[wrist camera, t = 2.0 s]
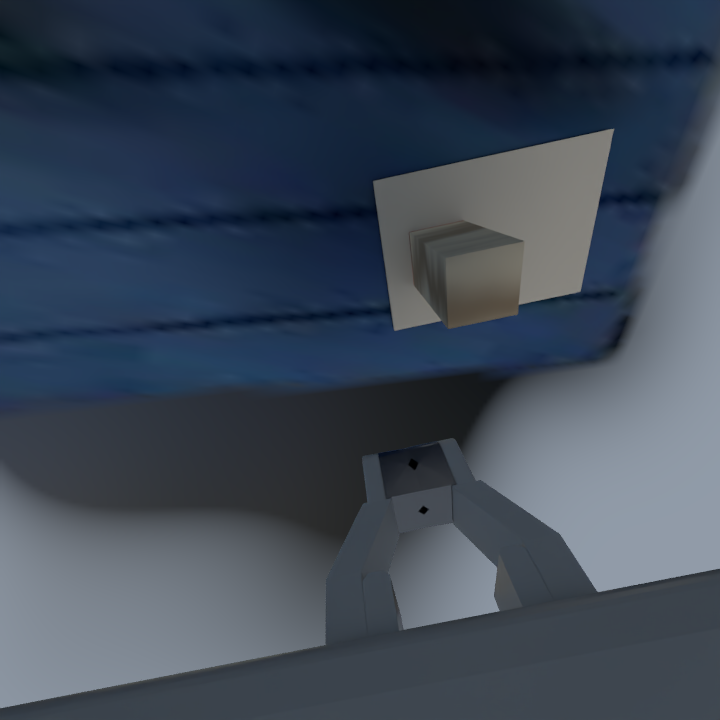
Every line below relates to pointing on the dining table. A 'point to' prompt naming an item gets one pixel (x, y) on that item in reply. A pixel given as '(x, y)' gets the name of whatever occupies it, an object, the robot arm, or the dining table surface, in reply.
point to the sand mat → (499, 215)
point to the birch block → (467, 272)
